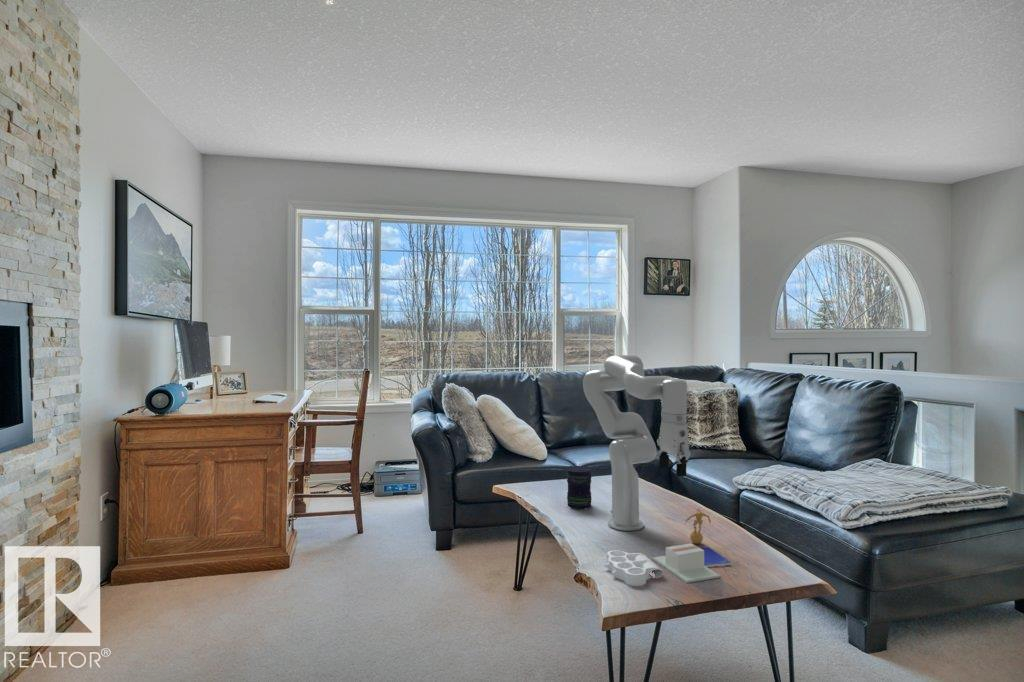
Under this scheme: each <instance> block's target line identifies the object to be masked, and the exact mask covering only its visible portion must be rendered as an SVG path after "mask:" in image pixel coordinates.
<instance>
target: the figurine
mask: <svg viewBox="0 0 1024 682" xmlns="http://www.w3.org/2000/svg"><path fill="white" fill-rule="evenodd" d="M693 517H695V518H696V519H694V521H693V522H692V523H693V524H692V525H693V528H694V530H693V531H692V532H691V533H690V536H689V538H690V541H691V542H692V544H694V545H695V544H697V545H698V544H699V545H700V544H701V543H702V542H703V540H704V537H703V534H702V533H701V530H702V524H703V522H704V521H703V520H702V519H703V517H706V518H707V519H708V522H709V524H711V523H712V521H711V519H710V516H709V515H707V514H706V513H704V512H702V511H701V509H700V508H697V509H696V512H695V513H693V514H691V515H690V516H689V517H688V518H687V519H686V520H685V524H686V523H687V522H688V521H689V520H690V519H691V518H693ZM696 525H698V528H699V529H698V530H697V526H696Z"/></svg>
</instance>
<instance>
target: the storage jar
mask: <svg viewBox="0 0 1024 682" xmlns="http://www.w3.org/2000/svg"><path fill="white" fill-rule="evenodd" d="M566 471H567V472H566V481H567V492H566V493H567V495H566V500H567V501H566V502H567V504H566V505H568V506H569V507H571V508H570V509H572V508H575V509H574V510H586V509H585V508H588V509H590V508H591V507H592V492H591V485H592V469H591V468H590V467H588V466H582V465H581V466H580V465H579V466H578V465H577V466H570V467H567V468H566ZM568 506H567V507H568ZM569 507H568V508H569ZM589 507H590V508H589Z"/></svg>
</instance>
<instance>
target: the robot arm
mask: <svg viewBox="0 0 1024 682" xmlns="http://www.w3.org/2000/svg"><path fill="white" fill-rule="evenodd" d="M582 388H583V393H584V395H585V398H586V399H587V401H588V403H589V404H590V405H591V407H592V408H593V410H594V412H595V414H596V418H597V419H598V422H599V424H600V426H601V429H602V431H603V432H604V434H605V436H606V437H607V438H609V439H613V440H612V441H611V442H610V444H609V447H608V456H609V460H610V461H609V462H610V467H611V509H610V511H609V512H610V514H611V518H610V519H608V520H607V525H608V527H610V528H612V529H614V530H618V531H624V532H625V531H627V532H629V531H631V532H632V531H633V532H634V531H638V530H642V529H643V528H644V527H645V526H644V521H642V520H641V519H640V489H639V488H640V482H639V481H640V479H639V474H638V472H637V470H636V469H635V467H634V465H636V464H644V463H650V462H652V461H653V460H654V459H656V456H657V452H658V455H659V457H658V458H659V460H658V461H659V463H658V467H659V468H661V469H662V468H663V469H664V468H665V469H666V468H669V464H670V463H669V462H670V455H671V456H673V457H675V458H676V460H677V462H676V467H675V468H676V469H675V472H676V473H675V476H677V477H678V478H679V477H685V476H687V464H688V463H689V461H690V457H691V453H692V452H691V451H690V443H689V441H690V440H689V431H688V429H689V428H688V425H687V408H688V406H687V405H688V383H687V381H686V380H684V379H680V378H679V379H678V378H674V377H673V376H669V375H651V376H649V375H648V376H645V369H644V363H643V361H642V359H641V358H640V357H639V356H637V355H633V354H626V355H625V354H621V355H620V354H618V355H617V354H616V355H612V356H609V357H607V358H606V360H605V361H604V363H603V369H594V370H590V371H587V373H585V375H584V376H583V379H582ZM624 390H625V391H626V393H628V394H629V395H631V396H632V397H635V398H636V399H640V400H644V401H645V400H661V419H660V420H661V421H660V422H661V424H660V430H659V438H657V439H656V442H655V441H654V438H653V437H652V435H651V432H650V430H649V429H648V426H647V424H646V423H645V421H644V419H643V417H642V416H641V415H640V414H638V413H636V412H635V411H634V412H633V411H628V412H627V411H626V412H622V411H620V410H619V408H618V405H617V403H616V402H615V401H614V399H613V398H612V397H611V396H610V395H608V394H607V393H605V392H615V391H624ZM656 443H657V444H656ZM656 445H657V446H656ZM657 450H658V451H657Z"/></svg>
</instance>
